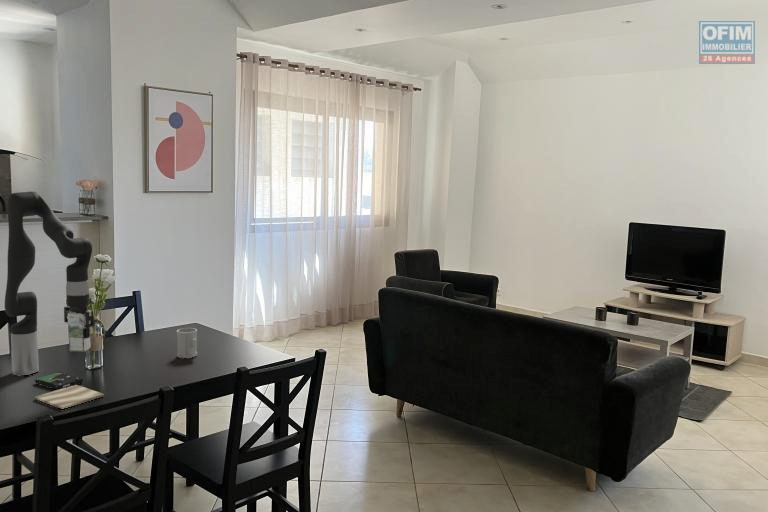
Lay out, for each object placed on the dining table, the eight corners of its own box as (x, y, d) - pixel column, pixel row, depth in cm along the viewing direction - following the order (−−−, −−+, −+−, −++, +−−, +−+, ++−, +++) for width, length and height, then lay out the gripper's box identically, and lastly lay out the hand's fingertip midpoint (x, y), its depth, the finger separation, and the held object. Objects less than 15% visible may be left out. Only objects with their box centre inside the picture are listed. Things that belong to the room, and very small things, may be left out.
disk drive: (83, 384, 242) (58, 377, 249) (83, 377, 242) (58, 371, 248) (59, 392, 233) (34, 385, 239) (59, 385, 233) (34, 378, 239)
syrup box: (91, 347, 231) (89, 309, 230) (84, 352, 226) (83, 313, 224) (75, 347, 231) (74, 309, 229) (68, 351, 225) (66, 312, 223)
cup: (203, 353, 285) (203, 328, 283) (196, 359, 276) (195, 333, 274) (182, 352, 286) (181, 327, 284) (173, 358, 277) (173, 332, 275)
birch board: (34, 399, 223) (34, 396, 223) (76, 387, 237) (76, 384, 237) (62, 410, 215) (61, 407, 214) (104, 397, 228) (103, 394, 228)
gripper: (56, 291, 226) (57, 335, 228) (80, 296, 219) (82, 341, 221) (75, 288, 232) (76, 331, 234) (99, 293, 225) (100, 337, 227)
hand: (79, 336), depth 228 cm, fingers closed on syrup box, 8 cm apart
